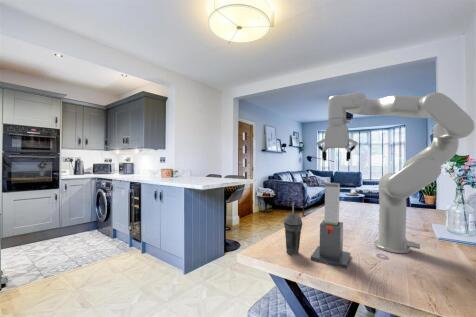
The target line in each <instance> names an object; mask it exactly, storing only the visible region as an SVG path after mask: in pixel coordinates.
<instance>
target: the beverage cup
mask: <svg viewBox="0 0 476 317" xmlns="http://www.w3.org/2000/svg"><path fill="white" fill-rule="evenodd" d="M291 207H292V212H290V213H287V215H285V217H284V220H283V227H284V232H285V233H284V234H285V236H284V237H285V248H286V253H287V254H288V255H290V256H291V255H293V256H297V255H299V250H300V244H301V243H300V242H301V235H302V229H303V219H302V218H301V215H299V214H298V213H296V212H295V202H292V206H291Z"/></svg>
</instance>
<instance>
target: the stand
mask: <svg viewBox="0 0 476 317" xmlns="http://www.w3.org/2000/svg"><path fill="white" fill-rule="evenodd" d="M324 221H325V219H323V220H322V221H321V222H320V224H319V245H318V246H317V247H316V248H315V249H314V251H313V252H312V254H311V256H310V260H311V261H314V262H318V263H322V264H326V265H330V266H335V267H338V268H343V269H348V266H349V262H350V259H351V252H350V251H349V252H348V251H344V250H343V247H344V246H343V245H344V243H343V242H344V222H341V221H339V225H338V226H334V225H328V224H324Z"/></svg>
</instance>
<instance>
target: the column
mask: <svg viewBox="0 0 476 317" xmlns="http://www.w3.org/2000/svg"><path fill="white" fill-rule="evenodd" d="M340 185H341V183H339V182H326V183H325V184H324V187H325V188H324V220H325V221H324V224H328V225H334V226H338V225H339V222H340V196H341V195H340V194H341V193H340V192H341V186H340Z"/></svg>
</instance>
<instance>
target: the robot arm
mask: <svg viewBox="0 0 476 317" xmlns="http://www.w3.org/2000/svg"><path fill="white" fill-rule="evenodd" d="M327 106H328V107H327V108H328V109H327V112H328V113H327V120H328V121H327V126H326V127H325V132H324V138H323V139H321V140H319V141H318V142H316V145H317V147H318V149H319V150H320V151H321V153H322V154H321V155H322V159H323V161H324V162H325V161H327V153H328V152H327V150H328V149H345V150H346V154H345V155H346V159H345V161H347V162H349V161H350V160H351V153H352V152H353V151H354V150H355V149H356V147H357V145H358V143H359V142H358V141H356V140H353V139H352V138H350V132H349V130H350V129H349V126H348V125H347V124H350V121H351V120H350V119H348V118H347V113H350V114H352V115H361V116H382V117H383V116H385V117H386V116H387V117H389V116H392V117H402V118H403V117H404V118H415V119H431V118H432V119H433V120H434V121H435V122H436V123H435V124H434V126H433V128H432V134H433V135H432V136H433V138H432V141H431V143H430V144H429V145H428V146H426V147H425V148H424V149H423V150H421V151H420V152H418V153H417V154H415V155H414V156H412V157H411V158H409V159H407V160H406V161H405V162H404V163H403V166H402V169H401V170H399V171H398V172H388V173H385V174H383V175H382V176H381V177H380V179H379V181H378V196H379V205H378V206H379V208H378V239H375V240H374V242H373V244H374V246H375V247H376V248H378V249H381V250H383V251H385V252H389V253H395V254H408V253H410V252H411V248H413V249H418V250H421V244H420V243H416V241H410V240H408V239H407V236H406V235H407V234H406V233H407V198H409V197H411V196H413V195H415V194H416V193H418V192H419V191H421V190H422V189H424V188H426V187H428V186H429V185H430V184H432V183H434V182H435V181H436V180H437V179H439V177H440V175H441V174H442V166H444V165H445V164H446V163H447V162H449V161H450V160H451V159H453V157H455V155H456V154H457V152H458V149H459V145H460V144H459V143H460V141H459V140H460V139H463V138H466V137H468V136H470V135H471V134H472V133H473V132H474V130H475V128H476V126H475V122H474V120H473V118H472V117H471V116H470V115H469V114H468V112H466V111H465V110H464V109H462V108H461V107H460V106H459V105H458V104H457V103H456V102H455V101H454V100H453V99H452V98H450V97H449V96H448V95H446V94H444V93H442V92H431V93H428V94H426V95H424V96H421V95H419V96H418V95H417V96H416V95H403V94H402V95H399V94H393V95H388V96H386V97H382V98H371V99H370V98H367V97H366V95H365V94H364V93H362V92H352V93H347V94H334V95H332V96H330V97H329V98H328V105H327ZM350 143H352V146H351V147H349V146H350ZM322 144H323V145H324V147H323V146H322Z"/></svg>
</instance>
